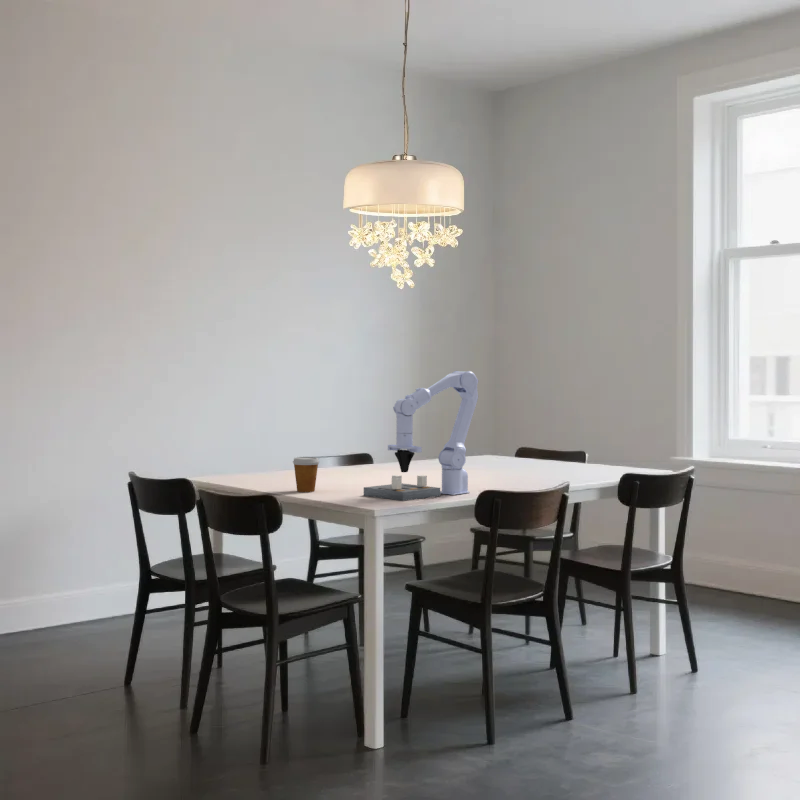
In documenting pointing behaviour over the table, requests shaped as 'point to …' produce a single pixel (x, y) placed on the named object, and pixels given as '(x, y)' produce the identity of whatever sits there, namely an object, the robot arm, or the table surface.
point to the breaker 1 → (396, 483)
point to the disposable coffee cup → (305, 473)
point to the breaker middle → (397, 477)
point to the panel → (402, 492)
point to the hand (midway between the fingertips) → (404, 472)
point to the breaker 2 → (421, 480)
